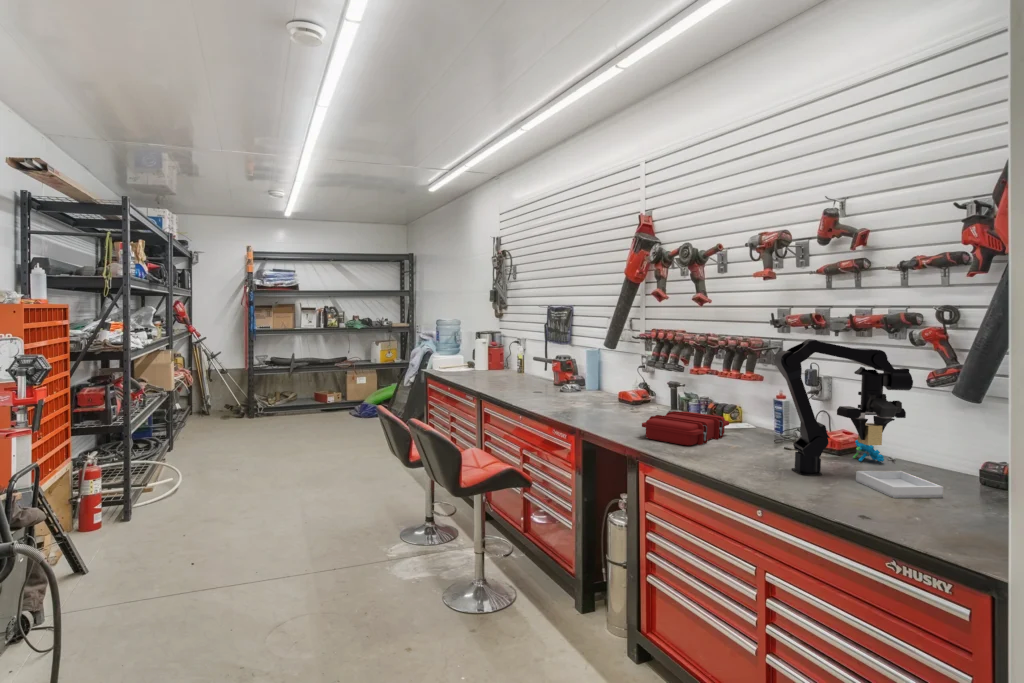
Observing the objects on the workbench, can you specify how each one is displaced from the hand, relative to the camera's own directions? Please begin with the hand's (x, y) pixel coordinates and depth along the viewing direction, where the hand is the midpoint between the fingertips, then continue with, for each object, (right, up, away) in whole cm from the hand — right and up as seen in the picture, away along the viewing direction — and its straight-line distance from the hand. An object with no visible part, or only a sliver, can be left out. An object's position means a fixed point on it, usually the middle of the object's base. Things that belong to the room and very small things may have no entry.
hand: (869, 439), depth 180 cm
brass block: (0, -1, 0) cm, 1 cm away
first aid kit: (-41, -9, +54) cm, 68 cm away
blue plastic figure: (+11, -11, +18) cm, 24 cm away
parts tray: (0, -12, -13) cm, 18 cm away
